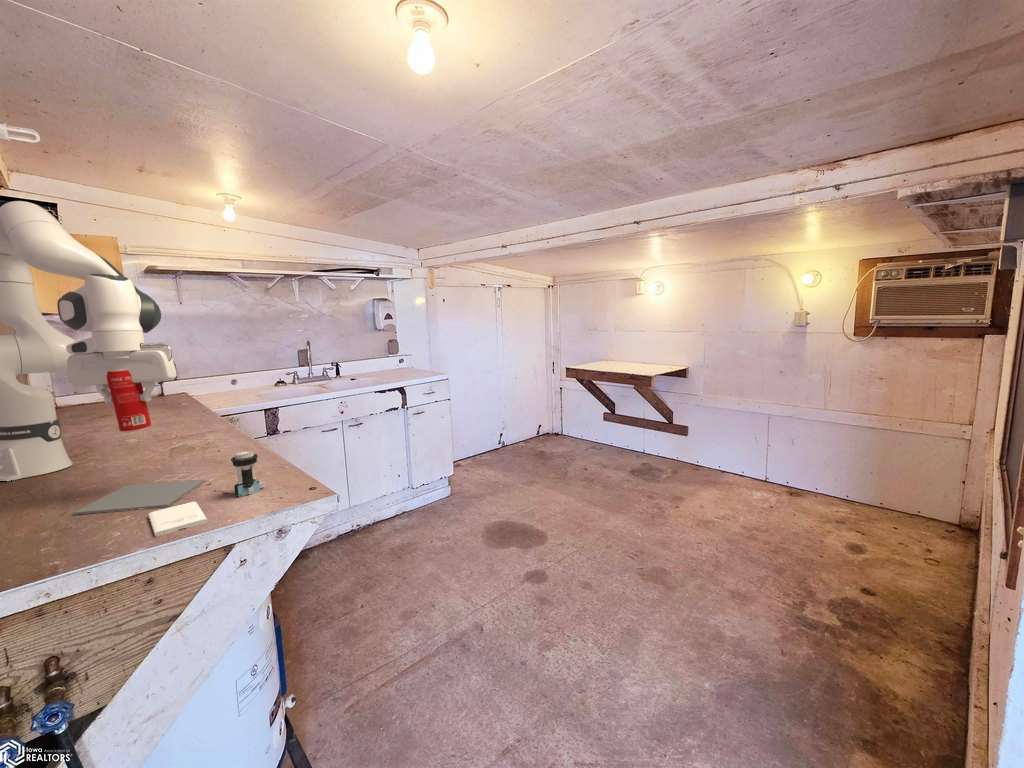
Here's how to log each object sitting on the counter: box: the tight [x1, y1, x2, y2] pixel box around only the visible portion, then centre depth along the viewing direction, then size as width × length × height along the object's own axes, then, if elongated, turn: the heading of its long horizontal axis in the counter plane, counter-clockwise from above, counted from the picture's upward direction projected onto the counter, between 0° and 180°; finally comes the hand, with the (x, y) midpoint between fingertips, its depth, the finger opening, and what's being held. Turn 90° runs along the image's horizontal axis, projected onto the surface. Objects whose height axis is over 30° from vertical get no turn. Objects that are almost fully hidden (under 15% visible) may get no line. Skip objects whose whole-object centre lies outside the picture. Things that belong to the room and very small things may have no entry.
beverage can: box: [106, 369, 152, 434], centre depth 98 cm, size 6×6×15 cm
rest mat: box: [72, 479, 207, 516], centre depth 98 cm, size 18×16×1 cm
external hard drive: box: [148, 501, 208, 538], centre depth 86 cm, size 2×8×12 cm
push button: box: [230, 450, 266, 498], centre depth 99 cm, size 7×5×10 cm
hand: (128, 402), depth 98 cm, fingers closed on beverage can, 6 cm apart
